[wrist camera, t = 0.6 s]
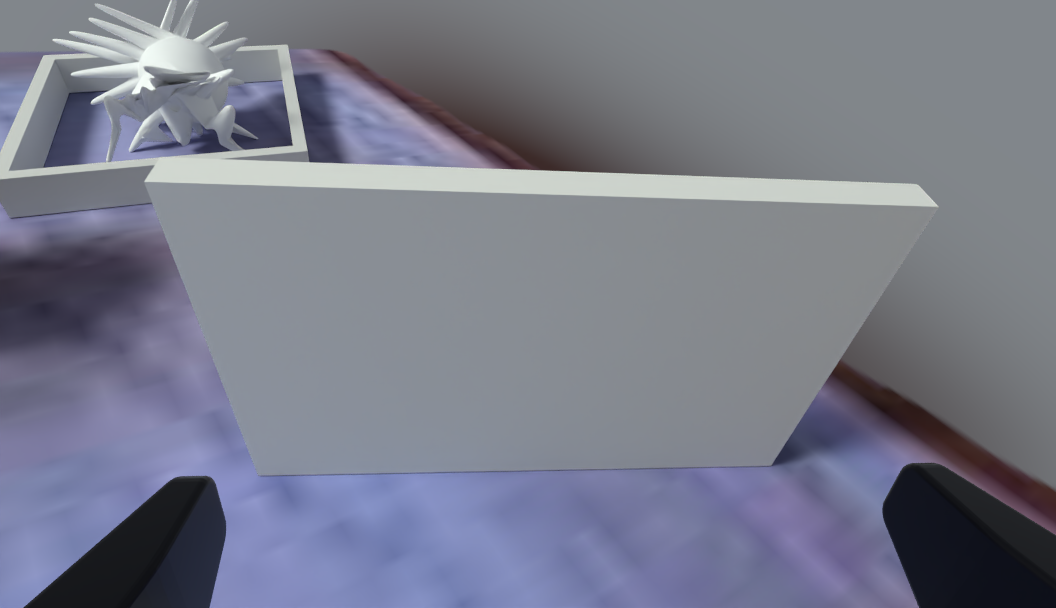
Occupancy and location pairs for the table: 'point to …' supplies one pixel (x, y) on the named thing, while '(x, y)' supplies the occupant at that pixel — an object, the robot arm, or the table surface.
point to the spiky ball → (164, 78)
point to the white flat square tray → (122, 182)
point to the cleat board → (523, 309)
